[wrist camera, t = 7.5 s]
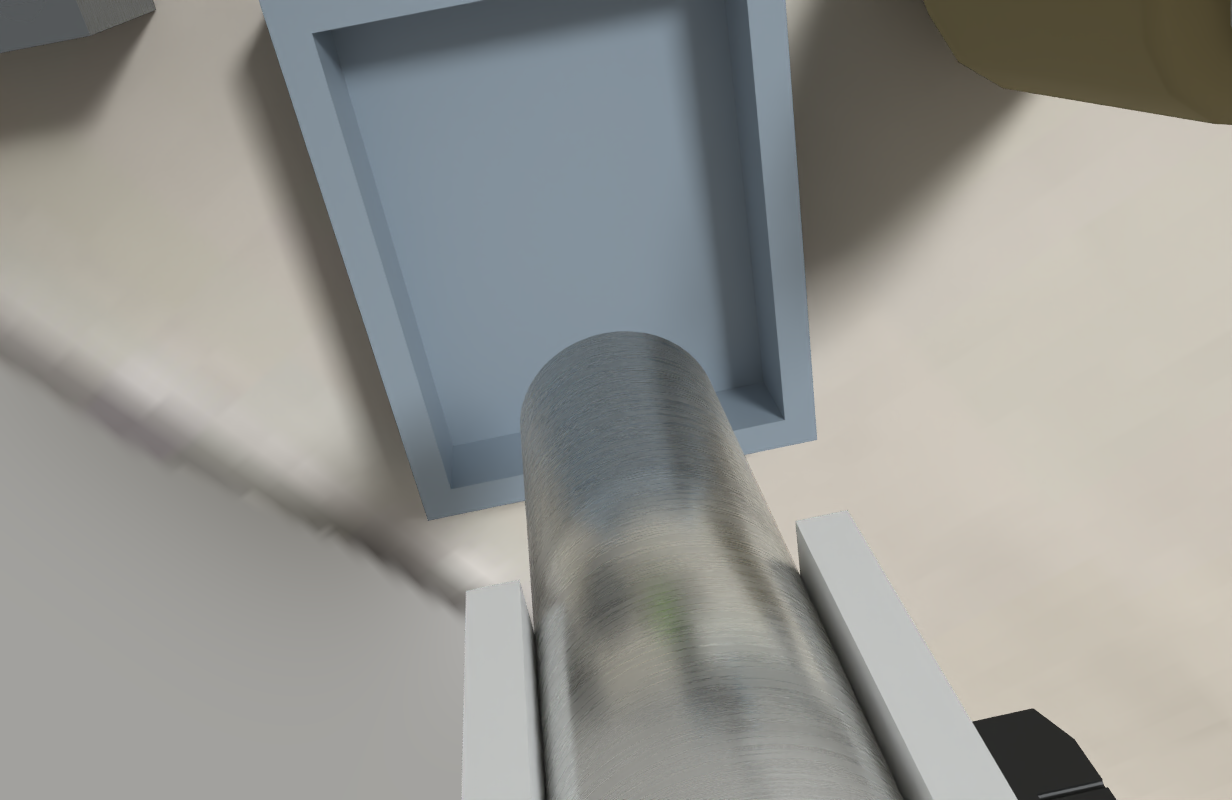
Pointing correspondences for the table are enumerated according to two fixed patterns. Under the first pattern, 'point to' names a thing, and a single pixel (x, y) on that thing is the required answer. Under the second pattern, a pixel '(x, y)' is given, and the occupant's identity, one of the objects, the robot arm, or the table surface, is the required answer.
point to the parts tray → (555, 205)
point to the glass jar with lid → (672, 598)
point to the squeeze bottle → (1100, 51)
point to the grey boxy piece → (62, 19)
